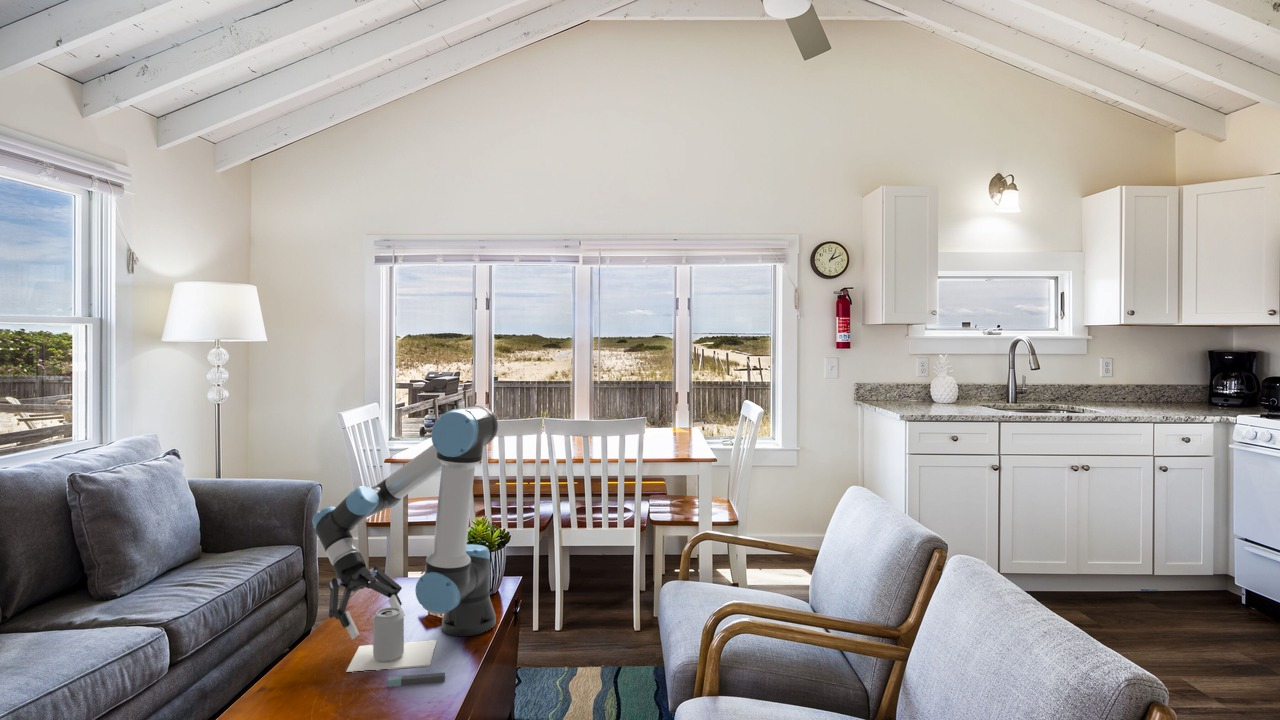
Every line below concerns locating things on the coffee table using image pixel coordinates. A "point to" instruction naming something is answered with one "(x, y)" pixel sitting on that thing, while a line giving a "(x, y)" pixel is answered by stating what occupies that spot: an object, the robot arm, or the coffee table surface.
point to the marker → (416, 679)
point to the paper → (412, 657)
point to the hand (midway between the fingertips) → (379, 627)
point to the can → (388, 634)
